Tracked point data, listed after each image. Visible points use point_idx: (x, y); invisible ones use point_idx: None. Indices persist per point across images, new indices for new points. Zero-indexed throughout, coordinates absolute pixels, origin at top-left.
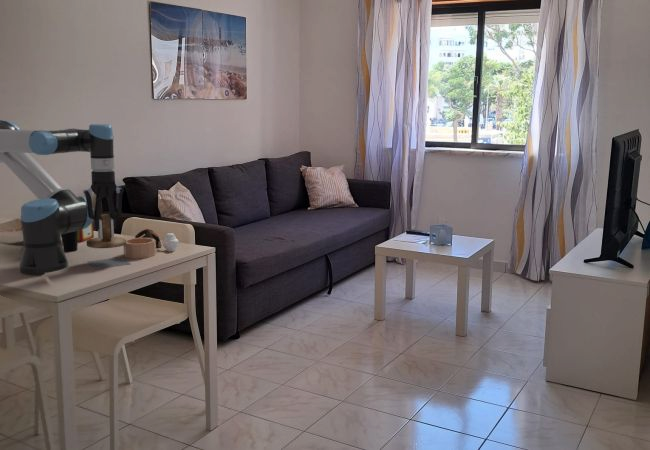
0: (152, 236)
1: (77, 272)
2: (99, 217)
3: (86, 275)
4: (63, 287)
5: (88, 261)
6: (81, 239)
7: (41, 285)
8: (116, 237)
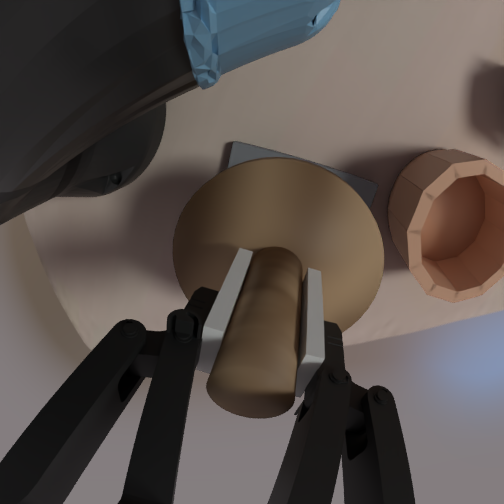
0: None
1: (160, 232)
2: (191, 386)
3: (169, 283)
4: (103, 323)
5: (239, 145)
6: None
7: (69, 275)
8: (367, 242)
